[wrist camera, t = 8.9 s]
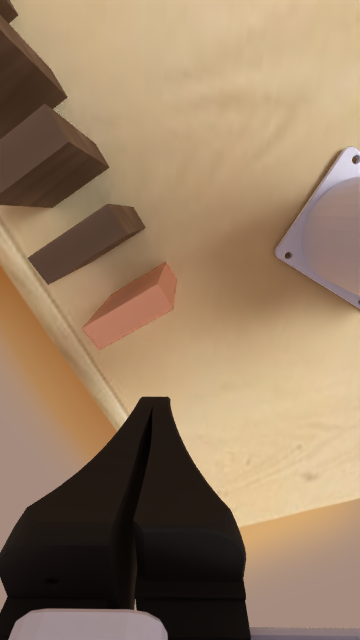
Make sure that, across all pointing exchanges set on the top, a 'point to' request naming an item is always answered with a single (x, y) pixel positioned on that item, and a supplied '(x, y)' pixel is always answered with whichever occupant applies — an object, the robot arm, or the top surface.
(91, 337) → the terracotta domino
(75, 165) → the domino
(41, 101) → the domino
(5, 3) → the domino
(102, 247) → the domino
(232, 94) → the top surface
